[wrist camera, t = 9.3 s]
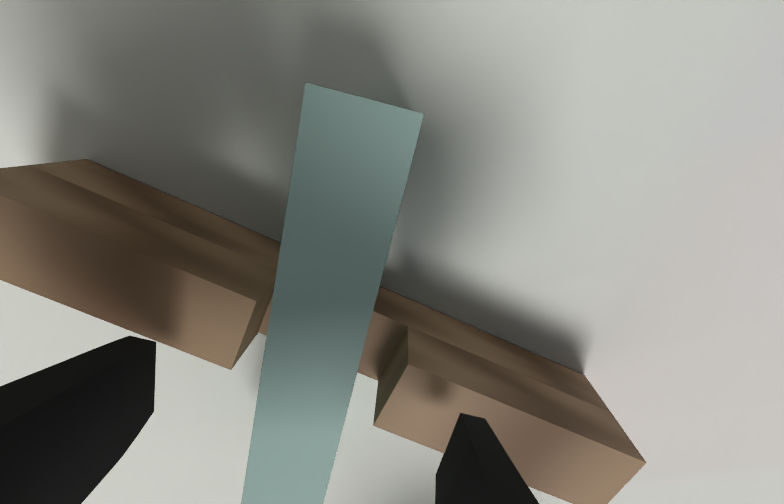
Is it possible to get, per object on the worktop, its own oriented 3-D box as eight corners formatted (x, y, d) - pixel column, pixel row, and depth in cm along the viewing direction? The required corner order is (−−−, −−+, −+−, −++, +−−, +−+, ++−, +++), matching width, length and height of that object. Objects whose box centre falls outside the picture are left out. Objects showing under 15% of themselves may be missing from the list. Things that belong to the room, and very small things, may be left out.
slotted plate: (355, 103, 12) (305, 81, 6) (416, 119, 12) (424, 113, 6) (289, 433, 16) (226, 599, 11) (333, 443, 16) (294, 613, 11)
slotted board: (76, 220, 13) (-55, 258, 10) (87, 159, 13) (-51, 173, 9) (551, 417, 15) (598, 513, 12) (584, 375, 15) (646, 462, 11)
